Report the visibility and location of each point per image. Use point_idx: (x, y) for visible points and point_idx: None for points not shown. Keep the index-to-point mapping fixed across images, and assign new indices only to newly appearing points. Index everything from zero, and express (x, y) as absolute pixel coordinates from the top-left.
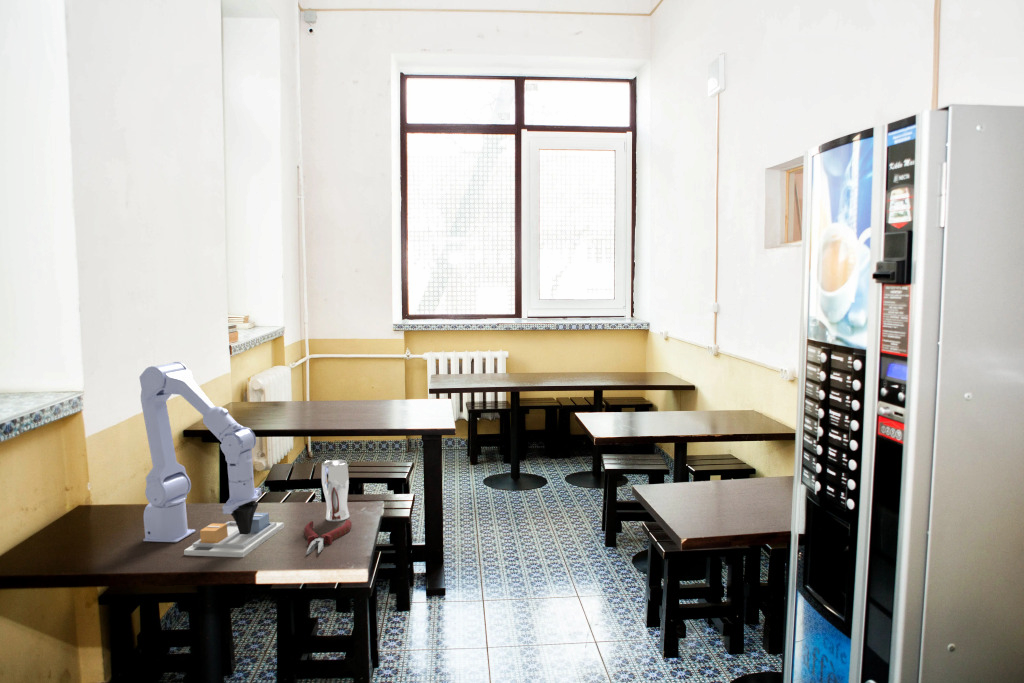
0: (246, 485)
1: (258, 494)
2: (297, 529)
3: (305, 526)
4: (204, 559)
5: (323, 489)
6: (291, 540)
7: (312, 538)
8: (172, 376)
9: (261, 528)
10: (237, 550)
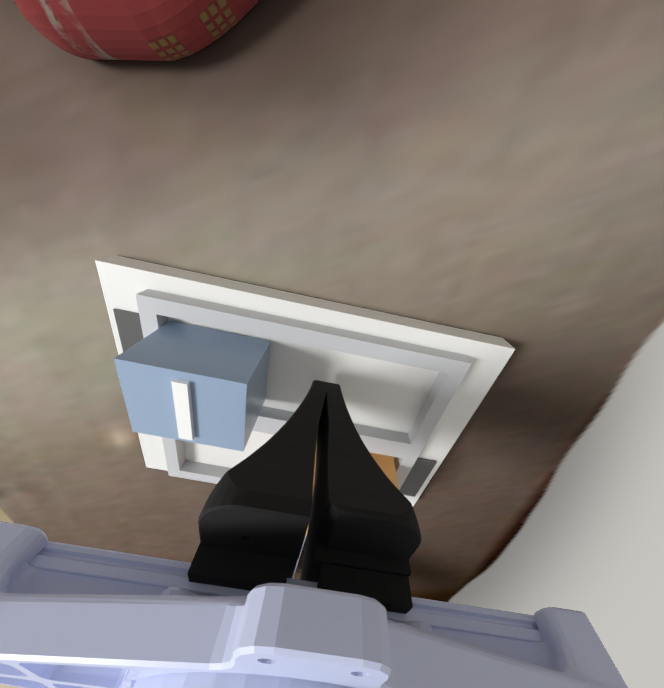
0: None
1: (21, 560)
2: (125, 155)
3: (140, 20)
4: (463, 449)
5: None
6: (312, 134)
7: None
8: None
9: (244, 345)
10: (477, 375)
